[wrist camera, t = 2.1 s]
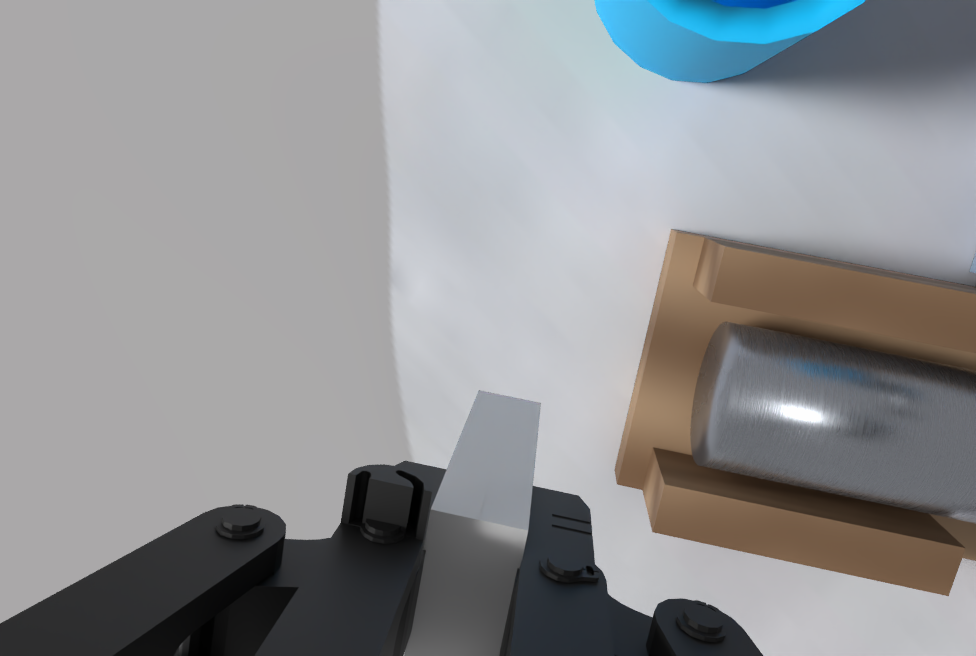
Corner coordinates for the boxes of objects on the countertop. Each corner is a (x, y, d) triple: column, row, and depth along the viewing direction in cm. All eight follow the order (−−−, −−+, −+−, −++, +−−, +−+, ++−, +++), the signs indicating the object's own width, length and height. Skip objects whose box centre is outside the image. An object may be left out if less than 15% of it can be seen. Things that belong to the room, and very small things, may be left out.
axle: (683, 435, 28) (707, 490, 23) (715, 309, 27) (747, 338, 22) (1059, 513, 27) (1166, 587, 22) (1108, 386, 26) (1232, 434, 21)
